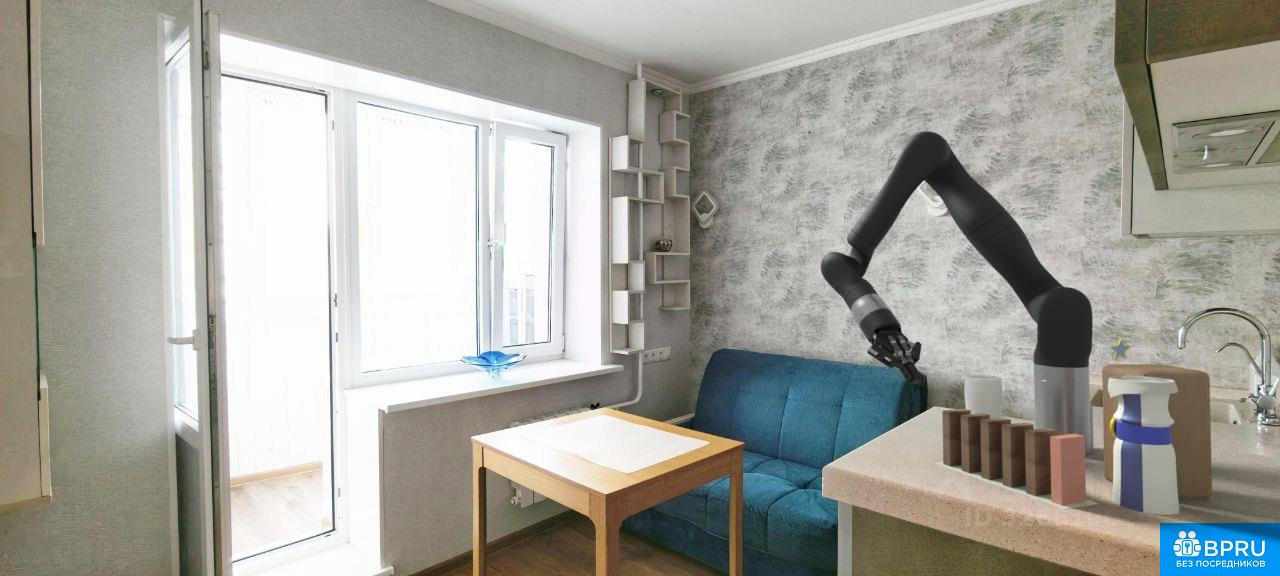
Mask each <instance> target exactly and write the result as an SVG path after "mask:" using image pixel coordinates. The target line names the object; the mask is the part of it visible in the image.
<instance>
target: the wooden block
mask: <svg viewBox="0 0 1280 576" xmlns="http://www.w3.org/2000/svg"><path fill="white" fill-rule="evenodd" d="M1101 369H1102V371H1101V375H1102V376H1101V377H1102V378H1101V381H1102V417H1103V420H1102V423H1103V424H1102V425H1103V426H1102V427H1103V428H1102V429H1103V431H1102V432H1103V469H1104V470H1103V472H1104V473H1103V475H1104V478H1105V480H1106V481H1108V482H1111V483H1113V449H1114V442H1115V439H1116V438H1115V437H1114V436H1112V434H1111V432H1110V422H1111V420H1112V418H1113V415H1114V414H1115V413H1116V411H1117V409H1118V405H1119V400H1118V396H1114V397H1112V398H1111V397H1110V394H1109V392H1108V380H1109V378H1113V379H1119V380H1122V379H1121V377H1123V376H1145V377H1155V378H1164V379H1171V380H1174V381H1175V383H1176V386H1177V389H1178V392H1177V393H1173V394H1170V396H1169V401H1168V411H1169V414H1170V416H1171V418H1172V419H1173V420H1174V423H1173V424H1172V425H1171V444H1172V446H1173V448H1174V451H1175V456H1176V476H1177V491H1178V500H1179V499H1182V500H1183V499H1185V500H1189V499H1190V500H1204V501H1206V500H1210V499H1211V498H1212V495H1213V482H1212V481H1213V480H1212V479H1213V478H1212V474H1213V473H1212V469H1213V468H1212V436H1211V435H1212V429H1211V425H1212V423H1211V422H1212V421H1211V387H1210V386H1211V385H1210V382H1211V381H1210V380H1211V378H1210V376H1209V374H1208V373H1207V372H1206V371H1203V370H1199V369H1198V370H1197V369H1194V368H1193V369H1192V368H1186V367H1179V366H1173V365H1168V364H1159V363H1157V364H1152V363H1151V364H1150V363H1149V364H1142V363H1141V364H1139V363H1138V364H1136V363H1135V364H1131V363H1130V364H1123V363H1120V364H1115V363H1114V364H1112V363H1111V364H1107V365H1105V366H1104V365H1103V367H1102V368H1101Z"/></svg>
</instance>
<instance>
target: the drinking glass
mask: <svg viewBox="0 0 1280 576" xmlns="http://www.w3.org/2000/svg"><path fill="white" fill-rule="evenodd" d="M963 382H964V383H963V386H964V387H963V393H964V404H965V409H967V410H971V414H978V413H984V414H989V415H990V419H994V418H1002V411H1003V410H1002V409H1003V381H1002V377H1000V376H996V375H989V374H987V375H986V374H968V375H967V374H966V375H965V376H964V381H963Z"/></svg>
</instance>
